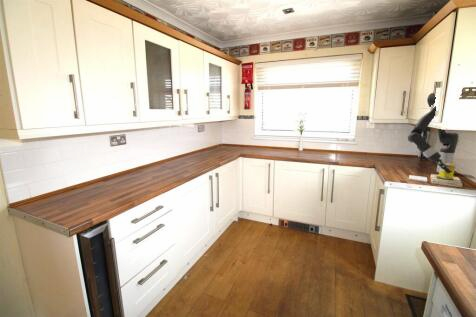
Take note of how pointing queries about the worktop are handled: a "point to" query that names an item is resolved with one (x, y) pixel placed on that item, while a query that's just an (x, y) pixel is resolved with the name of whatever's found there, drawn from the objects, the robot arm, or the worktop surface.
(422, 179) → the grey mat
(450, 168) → the supplement box
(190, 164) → the worktop surface
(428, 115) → the robot arm
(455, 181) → the puzzle board
